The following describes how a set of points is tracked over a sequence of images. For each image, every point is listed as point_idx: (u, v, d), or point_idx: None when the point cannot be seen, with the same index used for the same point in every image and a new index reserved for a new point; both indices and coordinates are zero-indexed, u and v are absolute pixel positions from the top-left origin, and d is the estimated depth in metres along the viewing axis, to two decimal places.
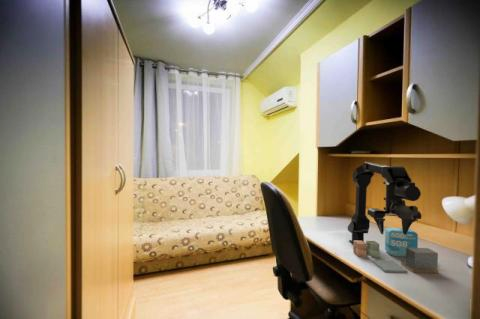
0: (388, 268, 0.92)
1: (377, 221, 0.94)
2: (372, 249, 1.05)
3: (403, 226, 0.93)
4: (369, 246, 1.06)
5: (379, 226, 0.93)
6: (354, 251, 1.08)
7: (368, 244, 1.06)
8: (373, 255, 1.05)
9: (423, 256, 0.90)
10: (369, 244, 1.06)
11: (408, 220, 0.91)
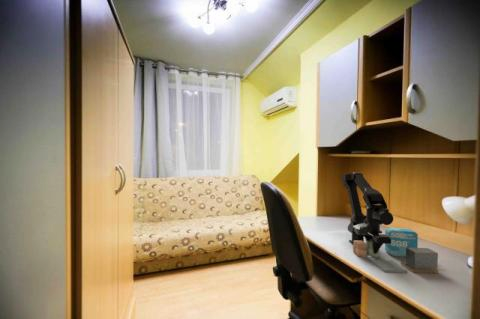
0: (388, 268, 0.92)
1: None
2: (372, 249, 1.05)
3: None
4: (369, 246, 1.06)
5: None
6: (354, 251, 1.08)
7: (368, 244, 1.06)
8: (373, 255, 1.05)
9: (423, 256, 0.90)
10: (369, 244, 1.06)
11: None
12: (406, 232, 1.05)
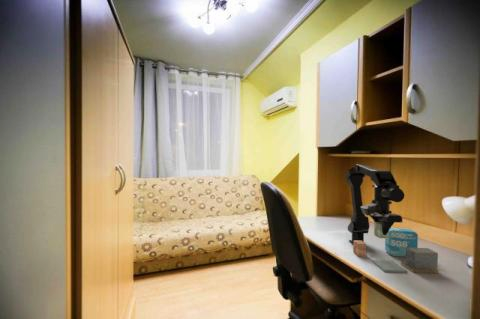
0: (388, 268, 0.92)
1: None
2: (381, 230, 0.98)
3: None
4: (377, 227, 1.00)
5: None
6: (354, 251, 1.08)
7: (377, 226, 1.00)
8: (382, 237, 0.98)
9: (423, 256, 0.90)
10: (378, 225, 0.99)
11: None
12: (406, 232, 1.05)
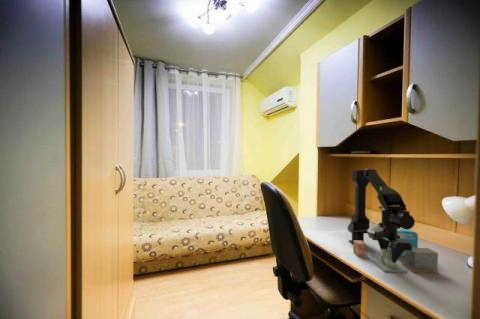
0: (388, 268, 0.92)
1: None
2: (389, 259, 0.93)
3: None
4: (384, 255, 0.94)
5: None
6: (354, 251, 1.08)
7: (384, 253, 0.94)
8: (390, 266, 0.93)
9: (423, 256, 0.90)
10: (385, 253, 0.94)
11: None
12: (406, 232, 1.05)
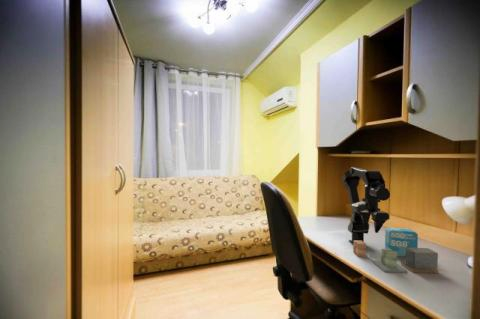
0: (388, 268, 0.92)
1: None
2: (389, 259, 0.93)
3: None
4: (384, 255, 0.94)
5: None
6: (354, 251, 1.08)
7: (384, 253, 0.94)
8: (390, 266, 0.93)
9: (423, 256, 0.90)
10: (385, 253, 0.94)
11: None
12: (406, 232, 1.05)
